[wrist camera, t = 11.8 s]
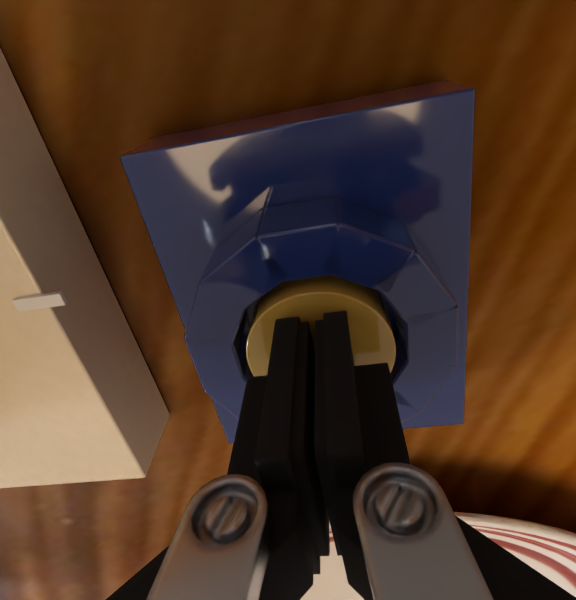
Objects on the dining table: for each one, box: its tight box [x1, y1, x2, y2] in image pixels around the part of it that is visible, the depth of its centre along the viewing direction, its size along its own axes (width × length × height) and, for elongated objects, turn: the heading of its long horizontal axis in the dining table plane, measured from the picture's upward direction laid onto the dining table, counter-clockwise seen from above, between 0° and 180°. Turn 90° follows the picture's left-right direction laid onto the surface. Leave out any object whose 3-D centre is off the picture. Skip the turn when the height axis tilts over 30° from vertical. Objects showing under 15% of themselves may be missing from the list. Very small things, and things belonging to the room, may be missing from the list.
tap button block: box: [120, 80, 475, 443], centre depth 12 cm, size 10×8×4 cm
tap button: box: [246, 275, 396, 377], centre depth 11 cm, size 4×4×2 cm
